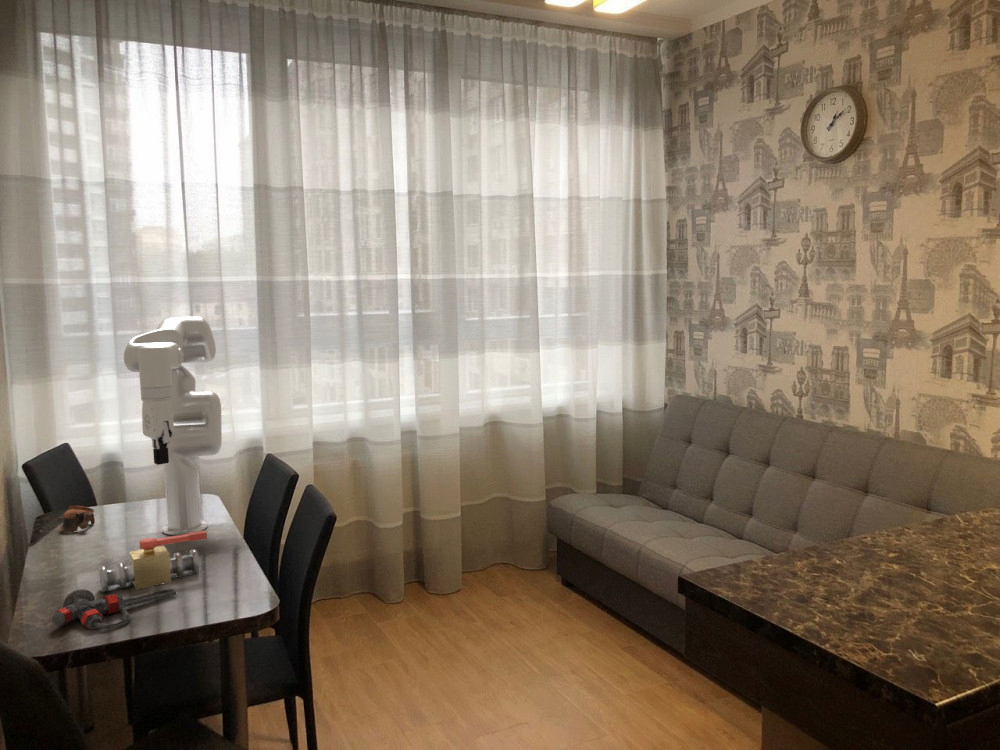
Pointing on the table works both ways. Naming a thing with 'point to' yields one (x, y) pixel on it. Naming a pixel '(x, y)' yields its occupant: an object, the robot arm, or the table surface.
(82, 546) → the table surface
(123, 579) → the ball valve
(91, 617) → the valve
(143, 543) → the lever
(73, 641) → the table surface
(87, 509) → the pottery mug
